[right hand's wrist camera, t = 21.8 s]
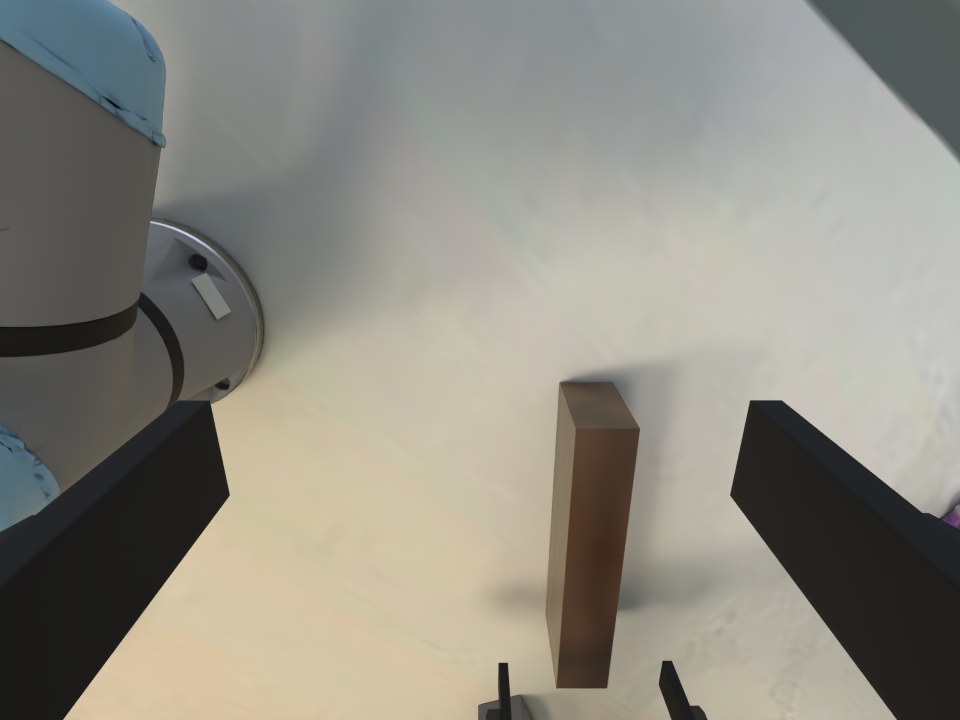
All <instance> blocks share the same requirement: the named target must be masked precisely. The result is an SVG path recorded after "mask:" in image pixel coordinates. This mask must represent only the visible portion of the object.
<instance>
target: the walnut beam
mask: <svg viewBox="0 0 960 720" xmlns="http://www.w3.org/2000/svg"><path fill="white" fill-rule="evenodd" d="M639 431H640V428H639V426H638V425H637V423H636V421H635V420H634V418H633V416H632V415H631V413H630V411H629V409H628V408H627V406H626V404H625V403H624V401H623V399H622V398H621V396H620V394H619V393H618V391H617V389H616V388H615V386H614V384H613V383H559V400H558V416H557V433H556V450H555V466H554V483H553V500H552V517H551V533H550V550H549V567H548V583H547V600H546V620H547V627H548V634H549V641H550V648H551V655H552V662H553V669H554V676H555V682H556V688H607V685H608V677H609V669H610V661H611V653H612V646H613V638H614V630H615V622H616V614H617V606H618V598H619V590H620V582H621V574H622V566H623V558H624V550H625V542H626V534H627V527H628V519H629V511H630V503H631V495H632V487H633V479H634V471H635V463H636V455H637V447H638V439H639Z"/></svg>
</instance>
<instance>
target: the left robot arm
mask: <svg viewBox="0 0 960 720" xmlns="http://www.w3.org/2000/svg"><path fill="white" fill-rule="evenodd" d="M659 686H660V689H661V692H662V695H663V697H664V700H665V703H666V706H667V708H668V711H669V714H670V717H671V720H707V718H706V715H705V713H704V711H703V710H702V709H701V708H700V707H699V706H690V705H689V702H688V700H687V697H686V695H685V692H684V690H683V687H682V685H681V683H680V680H679V678H678V675H677V673H676V670H675V668H674V665H673V663H672V661H663V662H662V668H661V674H660V680H659ZM498 692H499V709H488V711H487V713H486V720H512V716H511V702H510V688H509V674H508V663H499V671H498Z"/></svg>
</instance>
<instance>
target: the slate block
mask: <svg viewBox="0 0 960 720" xmlns="http://www.w3.org/2000/svg"><path fill="white" fill-rule="evenodd" d="M510 702H511V716H512V720H532V718H531V716H530V714H529V712H528V710H527V708H526V706H525V704H524V701H523V699H522V697H521V695H518V696H514V697H510ZM488 709H499V700H498V701H494V702H490V703H486V704H482V705H479V706H478V720H486V713H487V711H488Z"/></svg>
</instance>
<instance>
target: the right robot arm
mask: <svg viewBox="0 0 960 720" xmlns="http://www.w3.org/2000/svg"><path fill="white" fill-rule="evenodd" d="M165 81H166V67H165V61H164V58H163V55H162V52H161V50H160V48H159V46H158V44H157V43H156V41H155V40H154V38H153V37H152V35H151V34H150V33H149V32H148V31H147V30H146V29H145V28H144V26H143V25H141V24H140V23H139V22H138V21H137V20H136V19H134V18H133V17H132V16H130V15H129V14H127V13H126V12H125V11H123V10H121V9H120V8H118V7H117V6H115V5H113V4H112V3H110V2H108V1H107V0H0V720H63V719H64V718H65V716H66V715H67V714H68V712H69V711H70V710H71V708H72V707H73V706H74V704H75V703H76V702H77V700H78V699H79V698H80V696H81V695H82V693H83V692H84V691H85V689H86V688H87V687H88V685H89V684H90V683H91V681H92V680H93V679H94V677H95V676H96V675H97V673H98V672H99V671H100V669H101V668H102V667H103V665H104V664H105V663H106V661H107V660H108V659H109V657H110V656H111V654H112V653H113V652H114V650H115V649H116V648H117V646H118V645H119V644H120V642H121V641H122V640H123V638H124V637H125V636H126V634H127V633H128V632H129V630H130V629H131V628H132V626H133V625H134V624H135V622H136V621H137V620H138V618H139V617H140V616H141V614H142V613H143V611H144V610H145V609H146V607H147V606H148V605H149V603H150V602H151V601H152V599H153V598H154V597H155V595H156V594H157V593H158V591H159V590H160V589H161V587H162V586H163V585H164V583H165V582H166V581H167V579H168V578H169V577H170V575H171V574H172V572H173V571H174V570H175V568H176V567H177V566H178V564H179V563H180V562H181V560H182V559H183V558H184V556H185V555H186V554H187V552H188V551H189V550H190V548H191V547H192V546H193V544H194V543H195V542H196V540H197V539H198V538H199V536H200V535H201V533H202V532H203V531H204V529H205V528H206V527H207V525H208V524H209V523H210V521H211V520H212V519H213V517H214V516H215V515H216V513H217V512H218V511H219V509H220V508H221V507H222V505H223V504H224V503H225V501H226V500H227V499H228V497H229V496H230V494H229V489H228V484H227V479H226V475H225V470H224V465H223V461H222V456H221V451H220V446H219V442H218V437H217V432H216V427H215V423H214V418H213V413H212V409H211V404H212V403H214V402H216V401H219V400H220V399H222V398H224V397H225V396H227V395H228V394H229V393H230V392H232V391H233V390H234V389H235V388H236V387H237V386H238V385H239V384H240V383H241V382H242V381H243V380H244V379H245V378H246V377H247V376H248V375H249V373H250V372H251V371H252V369H253V367H254V366H255V364H256V362H257V360H258V357H259V354H260V351H261V347H262V342H263V318H262V312H261V308H260V304H259V301H258V298H257V296H256V293H255V291H254V289H253V287H252V285H251V283H250V281H249V279H248V278H247V276H246V275H245V273H244V271H243V270H242V269H241V268H240V266H239V265H238V264H237V263H236V261H235V260H234V259H233V258H232V257H231V256H230V255H229V254H228V253H227V252H226V251H225V250H224V249H223V248H221V247H220V246H219V245H218V244H216V243H215V242H214V241H212V240H211V239H209V238H208V237H206V236H205V235H203V234H201V233H199V232H197V231H196V230H193V229H191V228H189V227H187V226H184V225H181V224H178V223H175V222H172V221H167V220H163V219H156V218H151V214H152V207H153V200H154V193H155V186H156V179H157V173H158V166H159V159H160V152H161V147H162V148H165V145H166V140H165V137H164V135H163V133H162V121H163V107H164V94H165ZM730 496H731V497H732V499H733V500H734V501H735V503H736V504H737V505H738V507H739V508H740V509H741V511H742V512H743V513H744V515H745V516H746V517H747V519H748V520H749V521H750V523H751V524H752V525H753V527H754V528H755V529H756V531H757V532H758V533H759V535H760V536H761V538H762V539H763V540H764V542H765V543H766V544H767V546H768V547H769V548H770V550H771V551H772V552H773V554H774V555H775V556H776V558H777V559H778V560H779V562H780V563H781V564H782V566H783V567H784V568H785V570H786V571H787V572H788V574H789V575H790V577H791V578H792V579H793V581H794V582H795V583H796V585H797V586H798V587H799V589H800V590H801V591H802V593H803V594H804V595H805V597H806V598H807V599H808V601H809V602H810V603H811V605H812V606H813V607H814V609H815V610H816V611H817V613H818V614H819V616H820V617H821V618H822V620H823V621H824V622H825V624H826V625H827V626H828V628H829V629H830V630H831V632H832V633H833V634H834V636H835V637H836V638H837V640H838V641H839V642H840V644H841V645H842V646H843V648H844V649H845V650H846V652H847V653H848V655H849V656H850V657H851V659H852V660H853V661H854V663H855V664H856V665H857V667H858V668H859V669H860V671H861V672H862V673H863V675H864V676H865V677H866V679H867V680H868V681H869V683H870V684H871V685H872V687H873V688H874V689H875V691H876V692H877V693H878V695H879V696H880V698H881V699H882V700H883V702H884V703H885V704H886V706H887V707H888V708H889V710H890V711H891V712H892V714H893V715H894V716H895V718H896V719H897V720H960V529H958V528H956V527H954V526H952V525H950V524H948V523H946V522H944V521H943V520H941V519H939V518H937V517H935V516H933V515H931V514H929V513H922V512H920V511H919V510H918V509H917V508H915V507H914V506H913V505H912V504H910V503H909V502H908V501H907V500H905V499H904V498H903V497H902V496H900V495H899V494H898V493H897V492H895V491H894V490H893V489H892V488H890V487H889V486H888V485H887V484H885V483H884V482H883V481H882V480H881V479H879V478H878V477H877V476H876V475H874V474H873V473H872V472H871V471H869V470H868V469H867V468H866V467H864V466H863V465H862V464H861V463H859V462H858V461H857V460H856V459H854V458H853V457H852V456H851V455H849V454H848V453H847V452H846V451H844V450H843V449H842V448H841V447H839V446H838V445H837V444H836V443H834V442H833V441H832V440H831V439H829V438H828V437H827V436H826V435H824V434H823V433H822V432H821V431H819V430H818V429H817V428H816V427H814V426H813V425H812V424H811V423H809V422H808V421H807V420H806V419H804V418H803V417H802V416H801V415H799V414H798V413H797V412H796V411H794V410H793V409H792V408H791V407H789V406H788V405H787V404H786V403H784V402H783V401H782V400H750V404H749V409H748V413H747V418H746V423H745V427H744V432H743V437H742V442H741V446H740V451H739V456H738V461H737V465H736V470H735V475H734V479H733V484H732V489H731V494H730Z"/></svg>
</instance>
